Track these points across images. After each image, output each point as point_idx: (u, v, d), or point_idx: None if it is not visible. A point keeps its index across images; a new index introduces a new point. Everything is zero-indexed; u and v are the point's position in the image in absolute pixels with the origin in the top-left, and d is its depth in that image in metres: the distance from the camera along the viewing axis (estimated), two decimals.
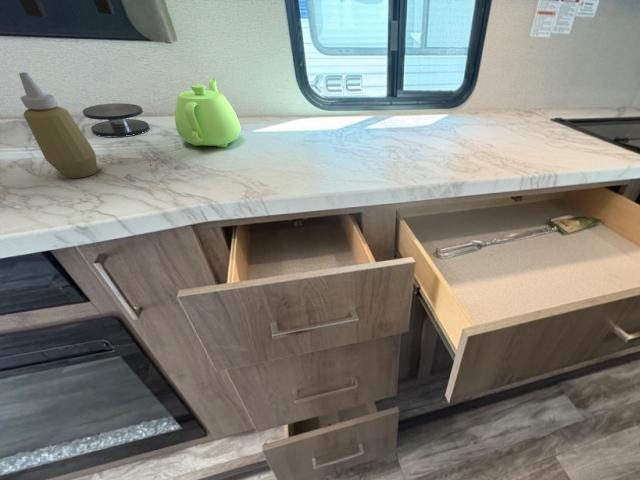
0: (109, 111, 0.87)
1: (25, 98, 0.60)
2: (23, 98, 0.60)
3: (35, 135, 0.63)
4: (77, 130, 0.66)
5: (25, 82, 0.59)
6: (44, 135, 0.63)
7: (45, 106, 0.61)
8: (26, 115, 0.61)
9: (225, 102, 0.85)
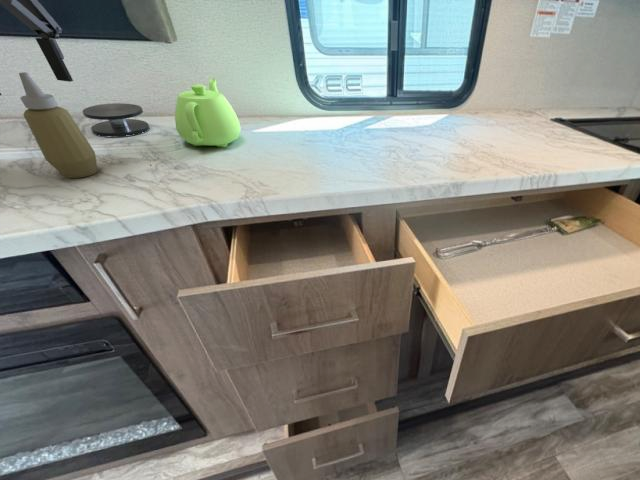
0: (109, 111, 0.87)
1: (25, 98, 0.60)
2: (23, 98, 0.60)
3: (35, 135, 0.63)
4: (77, 130, 0.66)
5: (25, 82, 0.59)
6: (44, 135, 0.63)
7: (45, 106, 0.61)
8: (26, 115, 0.61)
9: (225, 102, 0.85)
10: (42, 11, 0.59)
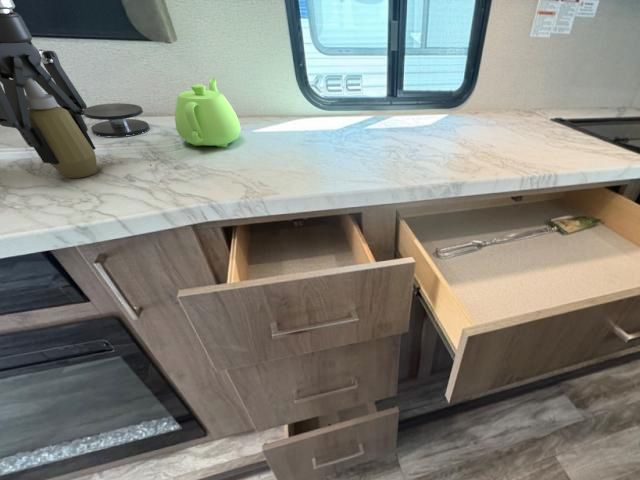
0: (109, 111, 0.87)
1: None
2: None
3: None
4: (77, 130, 0.66)
5: (25, 82, 0.59)
6: (44, 135, 0.63)
7: (45, 106, 0.61)
8: None
9: (225, 102, 0.85)
10: (73, 90, 0.66)
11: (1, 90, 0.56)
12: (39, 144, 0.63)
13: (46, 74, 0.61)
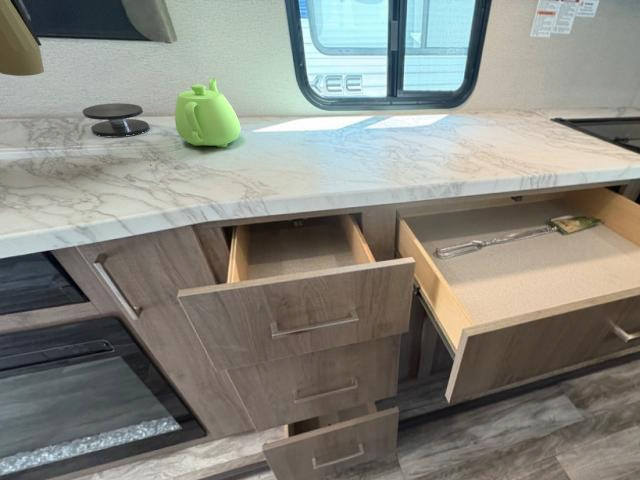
0: (109, 111, 0.87)
1: None
2: None
3: None
4: (14, 12, 0.54)
5: None
6: None
7: None
8: None
9: (225, 102, 0.85)
10: None
11: None
12: None
13: None
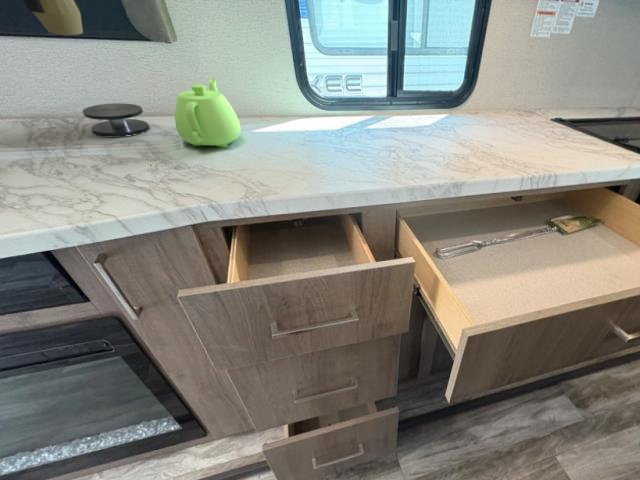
0: (109, 111, 0.87)
1: None
2: None
3: None
4: None
5: None
6: None
7: None
8: None
9: (225, 102, 0.85)
10: None
11: None
12: None
13: None
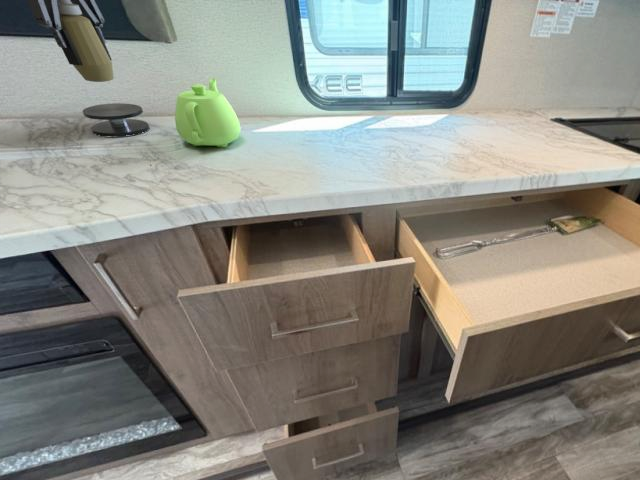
0: (109, 111, 0.87)
1: None
2: None
3: None
4: (97, 38, 0.79)
5: None
6: (71, 38, 0.76)
7: (72, 12, 0.74)
8: None
9: (225, 102, 0.85)
10: (93, 4, 0.79)
11: None
12: (67, 45, 0.75)
13: None
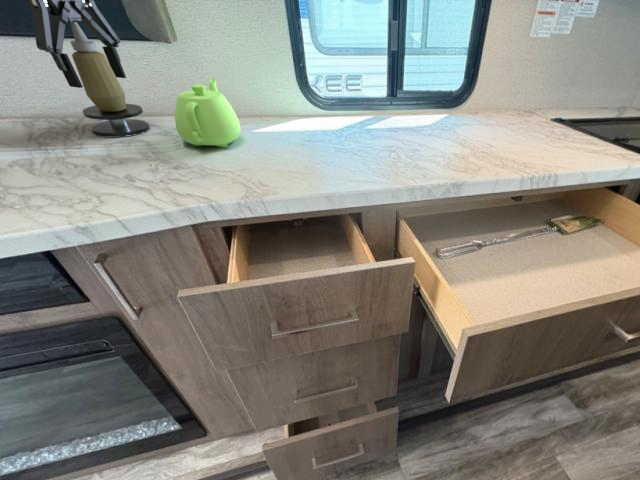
0: None
1: (74, 42, 0.77)
2: (72, 42, 0.77)
3: (80, 73, 0.80)
4: (112, 71, 0.84)
5: (74, 29, 0.77)
6: (87, 73, 0.80)
7: (89, 49, 0.79)
8: (74, 56, 0.78)
9: (225, 102, 0.85)
10: (108, 28, 0.83)
11: (47, 21, 0.71)
12: (67, 68, 0.76)
13: (88, 16, 0.78)
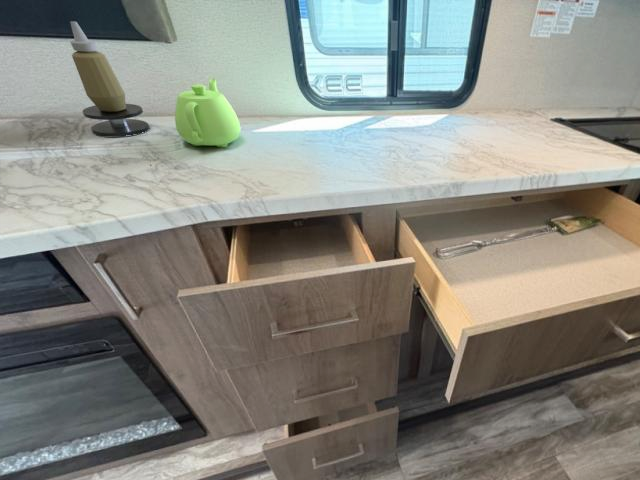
0: None
1: (74, 42, 0.77)
2: (72, 42, 0.77)
3: (80, 73, 0.80)
4: (112, 71, 0.84)
5: (74, 29, 0.77)
6: (87, 73, 0.80)
7: (89, 49, 0.79)
8: (74, 56, 0.78)
9: (225, 102, 0.85)
10: None
11: None
12: None
13: None
